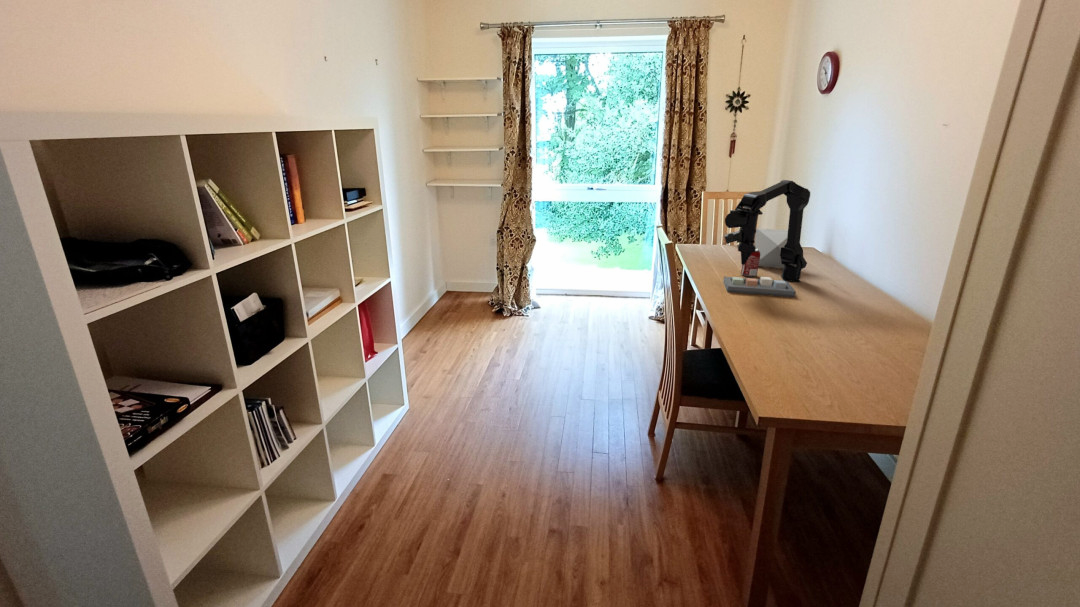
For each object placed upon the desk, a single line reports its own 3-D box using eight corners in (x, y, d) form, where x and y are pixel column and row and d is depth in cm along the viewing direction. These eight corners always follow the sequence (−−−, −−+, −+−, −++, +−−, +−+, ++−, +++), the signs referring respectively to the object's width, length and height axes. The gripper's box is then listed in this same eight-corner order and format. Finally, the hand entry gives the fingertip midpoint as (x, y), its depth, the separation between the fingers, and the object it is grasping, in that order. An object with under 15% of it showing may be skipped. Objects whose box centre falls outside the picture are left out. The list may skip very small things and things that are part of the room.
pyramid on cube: (755, 263, 230) (760, 223, 229) (749, 267, 253) (753, 231, 253) (795, 267, 225) (801, 226, 225) (785, 270, 248) (790, 234, 248)
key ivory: (769, 283, 207) (770, 277, 207) (771, 286, 204) (772, 280, 203) (759, 282, 208) (760, 276, 207) (761, 285, 205) (762, 279, 204)
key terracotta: (755, 284, 209) (756, 278, 208) (756, 287, 205) (757, 281, 204) (745, 284, 210) (746, 277, 209) (746, 286, 206) (747, 280, 205)
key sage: (741, 283, 210) (742, 277, 209) (742, 286, 206) (743, 280, 205) (731, 282, 211) (732, 276, 210) (732, 285, 207) (733, 279, 206)
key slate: (783, 286, 207) (784, 280, 206) (785, 289, 203) (786, 283, 202) (773, 286, 207) (774, 280, 207) (775, 288, 204) (776, 282, 203)
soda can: (759, 277, 224) (763, 251, 220) (743, 277, 224) (747, 250, 220) (753, 273, 230) (757, 247, 226) (738, 273, 230) (742, 247, 226)
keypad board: (786, 287, 211) (787, 281, 211) (794, 297, 199) (795, 291, 198) (723, 282, 216) (724, 276, 215) (727, 292, 203) (728, 286, 202)
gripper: (726, 220, 211) (721, 257, 217) (727, 229, 195) (721, 268, 200) (755, 222, 208) (749, 259, 213) (758, 231, 192) (752, 271, 197)
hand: (742, 264), depth 206 cm, fingers closed
